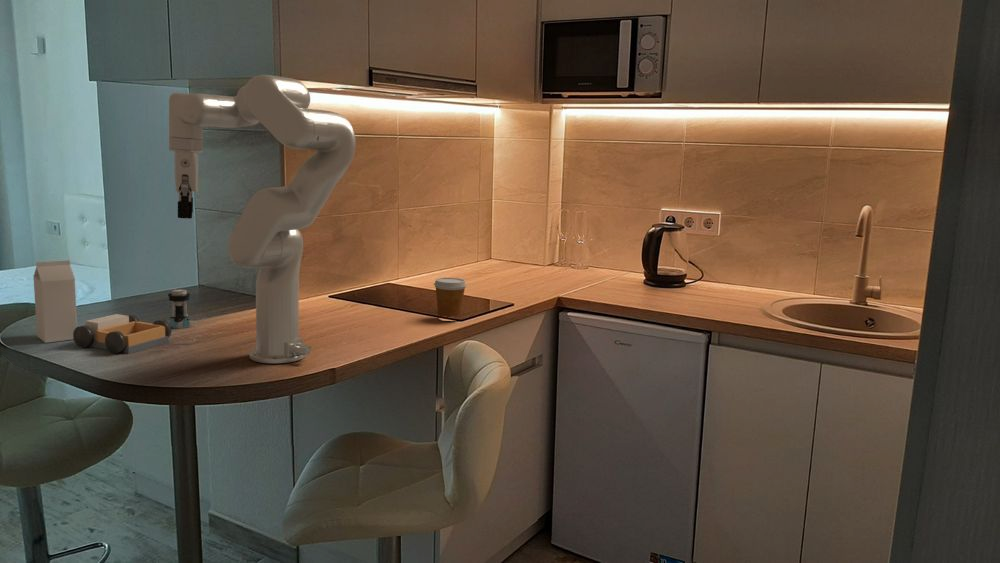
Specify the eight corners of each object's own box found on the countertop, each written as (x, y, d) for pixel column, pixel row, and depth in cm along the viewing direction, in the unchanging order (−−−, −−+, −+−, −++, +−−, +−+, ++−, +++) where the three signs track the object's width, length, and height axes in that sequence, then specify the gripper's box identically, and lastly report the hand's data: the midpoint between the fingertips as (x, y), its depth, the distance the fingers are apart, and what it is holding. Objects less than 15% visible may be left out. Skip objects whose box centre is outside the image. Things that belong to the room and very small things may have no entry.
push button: (195, 324, 203) (194, 288, 201) (196, 329, 198) (195, 291, 196) (168, 325, 200) (167, 288, 198) (169, 330, 195) (168, 292, 193)
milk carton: (78, 339, 183) (74, 262, 179) (44, 343, 178) (40, 264, 174) (69, 333, 188) (65, 258, 184) (36, 337, 183) (32, 260, 179)
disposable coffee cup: (440, 314, 229) (441, 276, 227) (469, 318, 226) (471, 279, 224) (427, 321, 220) (429, 281, 218) (458, 325, 217) (459, 284, 215)
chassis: (173, 340, 185) (172, 319, 184) (123, 355, 172) (122, 331, 171) (124, 332, 191) (123, 311, 190) (72, 345, 177) (70, 322, 176)
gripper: (202, 148, 175) (201, 221, 179) (202, 145, 191) (201, 211, 195) (167, 146, 173) (167, 219, 176) (170, 142, 188) (170, 210, 192)
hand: (185, 215), depth 185 cm, fingers open, 9 cm apart
